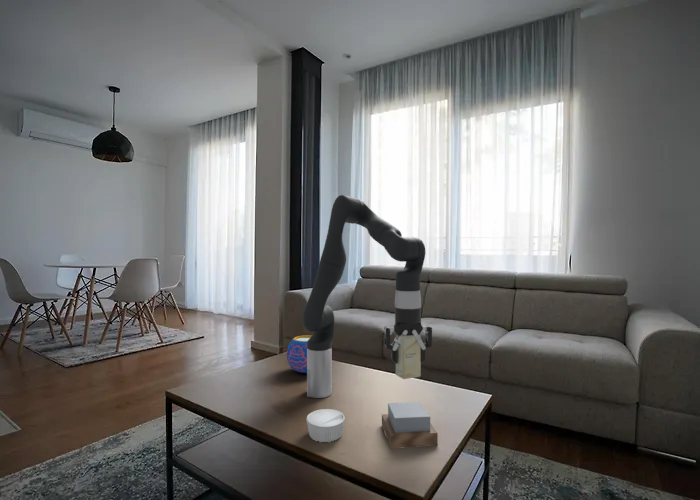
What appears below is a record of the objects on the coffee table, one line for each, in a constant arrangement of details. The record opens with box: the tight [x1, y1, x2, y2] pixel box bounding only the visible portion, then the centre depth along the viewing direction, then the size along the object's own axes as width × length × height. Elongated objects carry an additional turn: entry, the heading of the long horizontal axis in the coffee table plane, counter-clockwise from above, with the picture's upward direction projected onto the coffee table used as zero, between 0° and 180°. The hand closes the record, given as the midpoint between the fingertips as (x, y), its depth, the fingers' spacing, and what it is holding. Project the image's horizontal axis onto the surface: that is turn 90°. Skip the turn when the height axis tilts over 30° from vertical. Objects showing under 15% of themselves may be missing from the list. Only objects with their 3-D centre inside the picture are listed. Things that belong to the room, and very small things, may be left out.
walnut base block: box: [381, 413, 439, 449], centre depth 106 cm, size 13×13×4 cm
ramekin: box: [306, 408, 346, 443], centre depth 106 cm, size 11×11×5 cm
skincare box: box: [395, 333, 422, 380], centre depth 106 cm, size 6×4×12 cm
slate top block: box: [387, 401, 431, 433], centre depth 106 cm, size 10×10×4 cm
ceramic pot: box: [286, 334, 313, 374], centre depth 162 cm, size 18×18×15 cm
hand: (408, 362), depth 106 cm, fingers closed on skincare box, 7 cm apart
